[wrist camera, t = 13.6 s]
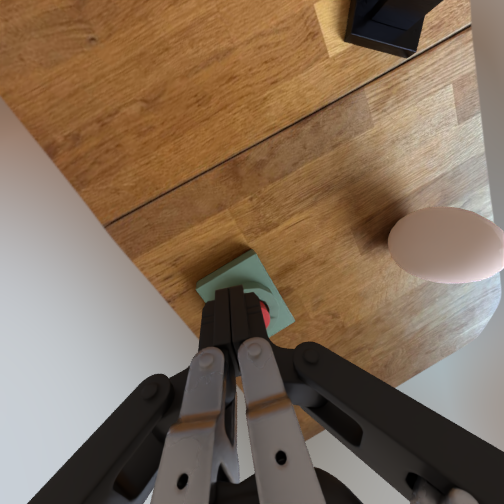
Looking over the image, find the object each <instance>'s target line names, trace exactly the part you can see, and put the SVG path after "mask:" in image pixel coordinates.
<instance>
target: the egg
mask: <svg viewBox="0 0 504 504" xmlns="http://www.w3.org/2000/svg"><path fill="white" fill-rule="evenodd" d="M388 248H389V251H390V254H391V257H392V258H393V260H394V261H395V262H396V263H397V265H398V266H399V267H401V268H402V269H403V270H405V271H406V272H408V273H410V274H412V275H414V276H416V277H419V278H421V279H424V280H428V281H433V282H438V283H468V282H475V281H480V280H483V279H486V278H489V277H491V276H493V275H495V274H496V273H498V272H499V271H501V270H502V269H503V268H504V232H503V230H502V229H500V228H499V227H498V226H497V225H495V224H494V223H493V222H492V221H490V220H488V219H486V218H484V217H482V216H480V215H478V214H476V213H474V212H472V211H468V210H464V209H460V208H454V207H443V206H442V207H428V208H423V209H420V210H417V211H414V212H411V213H409V214H408V215H406V216H405V217H403V218H402V219H400V220H399V221H398V222H397V223H396V224H395V226H394V227H393V228H392V229H391V232H390V234H389V237H388Z"/></svg>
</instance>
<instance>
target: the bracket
mask: <svg viewBox="0 0 504 504" xmlns="http://www.w3.org/2000/svg"><path fill="white" fill-rule="evenodd" d="M442 1H443V0H351V2H350V9H349V15H348V21H347V27H346V33H345V39H344V42H348V43H351V44H355V45H359V46H363V47H366V48H370V49H374V50H377V51H381V52H385V53H389V54H392V55H396V56H400V57H404V58H408V57H410V56H411V55H413V54H414V53H416V51H417V47H418V43H419V38H420V34H421V30H422V26H423V21H424V17H425V15H426V14H427V13H428V12H430V11H431V10H432V9H433V8H434V7H436V6H437V5H438V4H439V3H440V2H442Z"/></svg>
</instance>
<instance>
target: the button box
mask: <svg viewBox="0 0 504 504" xmlns="http://www.w3.org/2000/svg"><path fill="white" fill-rule="evenodd" d="M237 285H243V289H244V294H245V293H249V292H254V293H255V294H256V295H257V296H258V297H259V300H260V301H261V302H263V303H264V305H265V307H266V309H267V311H268V313H269V315H270V323H269V326H268V327H267V329H266V330H267V334H268V337H271V336H272V335H274V334H275V333H277V332H279V331H280V330H282V329H283V328H285V327H287V326H288V325H290V324H292V323H293V322H295V320H294V318H293V316H292V314H291V313H290V311H289V309H288V308H287V306H286V304H285V302H284V301H283V299H282V297H281V296H280V294H279V292H278V290H277V289H276V287H275V285H274V284H273V282H272V280H271V279H270V277H269V275H268V273H267V272H266V270H265V268H264V267H263V265H262V263H261V261H260V260H259V258H258V256H257V255H256V253H255V252H254V250H253V249H251V250H249V251H247V252H246V253H244V254H242V255H241V256H239V257H237V258H236V259H234V260H233V261H231V262H229V263H228V264H226V265H224V266H223V267H221V268H219V269H218V270H216V271H214V272H213V273H211V274H209V275H208V276H206V277H204V278H203V279H201V280H199V281H198V282H197V284H196V291H197V292H198V293H199V295H200V296H201V297H202V299H203V300H204V301H205V303H207V301H211V300H215V290H218V289H223V288H228V287H232V286H237Z"/></svg>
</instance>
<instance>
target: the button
mask: <svg viewBox="0 0 504 504" xmlns="http://www.w3.org/2000/svg"><path fill="white" fill-rule="evenodd" d="M260 305H261V309H262V313H263V317H264V321H265V326H266V329H267V327H268V326H269V323H270V315H269V313H268V311H267V309H266V307H265V305H264V303H263V302H261V301H260Z"/></svg>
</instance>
